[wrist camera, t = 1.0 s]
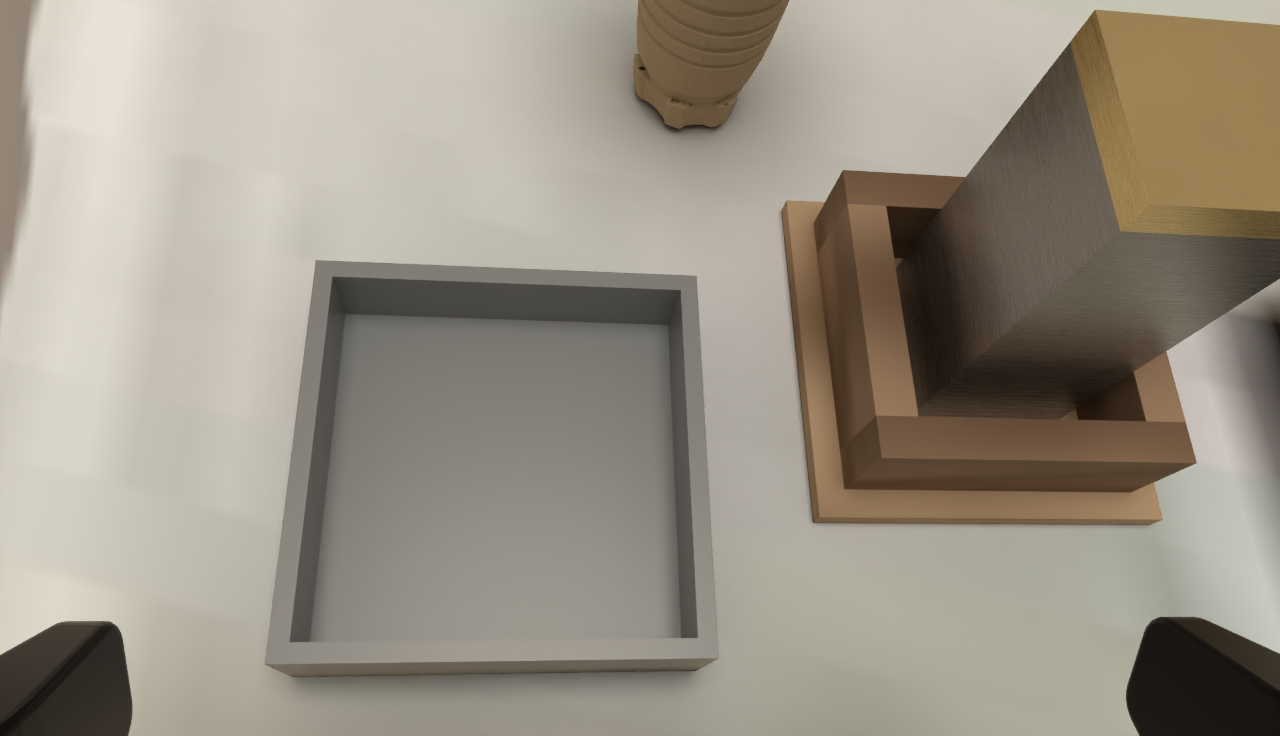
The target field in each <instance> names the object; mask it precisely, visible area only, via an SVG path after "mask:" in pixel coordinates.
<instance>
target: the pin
mask: <svg viewBox="0 0 1280 736" xmlns="http://www.w3.org/2000/svg"><path fill="white" fill-rule="evenodd" d="M896 273H897V280H898V286H899V293H900V299H901V306H902V312H903V319H904V325H905V332H906V338H907V345H908V351H909V358H910V365H911V371H912V378H913V384H914V391H915V397H916V404H917V410H918V416H922V417H968V418H1014V419H1061V418H1062V417H1064V416H1065V415H1067V414H1068V413H1070V412H1072V411H1073V410H1075V409H1076V408H1078V407H1079V406H1081V405H1083V404H1084V403H1086V402H1087V401H1089V400H1090V399H1092V398H1094V397H1095V396H1097V395H1098V394H1100V393H1101V392H1103V391H1104V390H1106V389H1108V388H1109V387H1111V386H1112V385H1114V384H1115V383H1117V382H1119V381H1120V380H1122V379H1123V378H1125V377H1126V376H1128V375H1130V374H1131V373H1133V372H1134V371H1136V370H1137V369H1139V368H1140V367H1142V366H1144V365H1145V364H1147V363H1148V362H1150V361H1151V360H1153V359H1155V358H1156V357H1158V356H1159V355H1161V354H1162V353H1164V352H1165V351H1167V350H1169V349H1170V348H1172V347H1173V346H1175V345H1176V344H1178V343H1180V342H1181V341H1183V340H1184V339H1186V338H1187V337H1189V336H1191V335H1192V334H1194V333H1195V332H1197V331H1198V330H1200V329H1201V328H1203V327H1205V326H1206V325H1208V324H1209V323H1211V322H1212V321H1214V320H1216V319H1217V318H1219V317H1220V316H1222V315H1223V314H1225V313H1226V312H1228V311H1230V310H1231V309H1233V308H1234V307H1236V306H1237V305H1239V304H1241V303H1242V302H1244V301H1245V300H1247V299H1248V298H1250V297H1252V296H1253V295H1255V294H1256V293H1258V292H1259V291H1261V290H1262V289H1264V288H1266V287H1267V286H1269V285H1270V284H1272V283H1273V282H1275V281H1277V280H1278V279H1280V25H1271V24H1259V23H1247V22H1235V21H1223V20H1211V19H1199V18H1188V17H1176V16H1164V15H1152V14H1140V13H1128V12H1116V11H1104V10H1095V11H1094V12H1093V13H1092V15H1091V16H1090V17H1089V19H1088V20H1087V21H1086V22H1085V24H1084V25H1083V26H1082V28H1081V29H1080V30H1079V31H1078V33H1077V34H1076V35H1075V37H1074V38H1073V39H1072V41H1071V42H1070V43H1069V44H1068V46H1067V47H1066V48H1065V50H1064V51H1063V52H1062V53H1061V55H1060V56H1059V57H1058V59H1057V60H1056V61H1055V63H1054V64H1053V65H1052V66H1051V68H1050V69H1049V70H1048V72H1047V73H1046V74H1045V75H1044V77H1043V78H1042V79H1041V81H1040V82H1039V83H1038V85H1037V86H1036V87H1035V88H1034V90H1033V91H1032V92H1031V94H1030V95H1029V96H1028V97H1027V99H1026V100H1025V101H1024V103H1023V104H1022V105H1021V107H1020V108H1019V109H1018V110H1017V112H1016V113H1015V114H1014V116H1013V117H1012V118H1011V119H1010V121H1009V122H1008V123H1007V125H1006V126H1005V127H1004V129H1003V130H1002V131H1001V132H1000V134H999V135H998V136H997V138H996V139H995V140H994V141H993V143H992V144H991V145H990V147H989V148H988V149H987V151H986V152H985V153H984V154H983V156H982V157H981V158H980V160H979V161H978V162H977V163H976V165H975V166H974V167H973V169H972V170H971V171H970V173H969V174H968V175H967V176H966V178H965V179H964V180H963V182H962V183H961V184H960V185H959V187H958V188H957V189H956V191H955V192H954V193H953V195H952V196H951V197H950V198H949V200H948V201H947V202H946V204H945V205H944V206H943V207H942V209H941V210H940V211H939V213H938V214H937V215H936V217H935V218H934V219H933V220H932V222H931V223H930V224H929V226H928V227H927V228H926V229H925V231H924V232H923V233H922V235H921V236H920V237H919V239H918V240H917V241H916V242H915V244H914V245H913V246H912V248H911V249H910V250H909V251H908V253H907V254H906V255H905V257H904V258H903V259H902V261H901V262H900V263H899V264H898V266H897V267H896Z"/></svg>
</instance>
